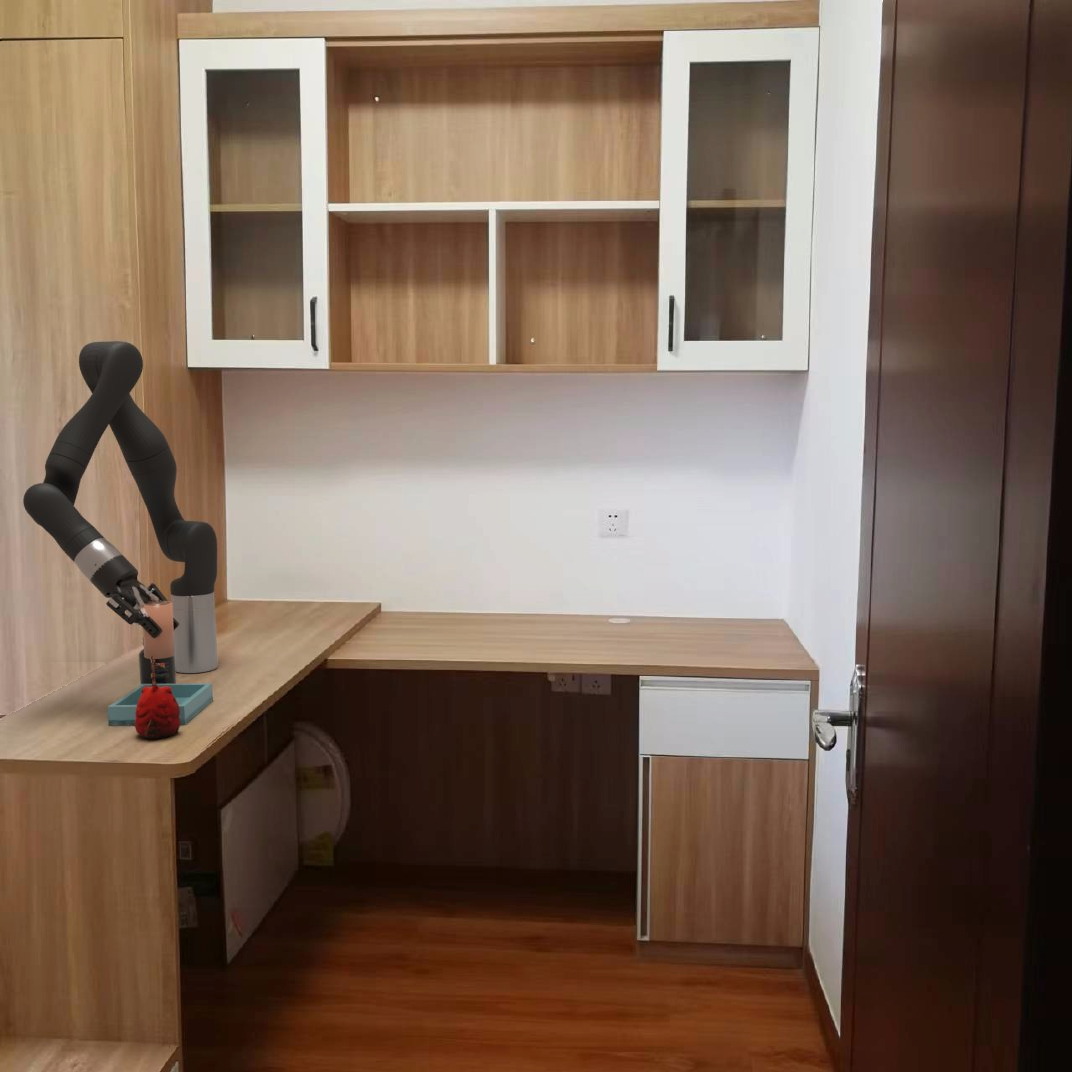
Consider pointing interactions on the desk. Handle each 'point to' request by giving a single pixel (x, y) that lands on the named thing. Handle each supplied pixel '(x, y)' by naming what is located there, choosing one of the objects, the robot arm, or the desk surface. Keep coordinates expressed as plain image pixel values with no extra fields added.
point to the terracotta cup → (165, 641)
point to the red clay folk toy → (157, 710)
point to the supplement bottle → (157, 670)
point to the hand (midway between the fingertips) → (167, 631)
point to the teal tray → (186, 695)
